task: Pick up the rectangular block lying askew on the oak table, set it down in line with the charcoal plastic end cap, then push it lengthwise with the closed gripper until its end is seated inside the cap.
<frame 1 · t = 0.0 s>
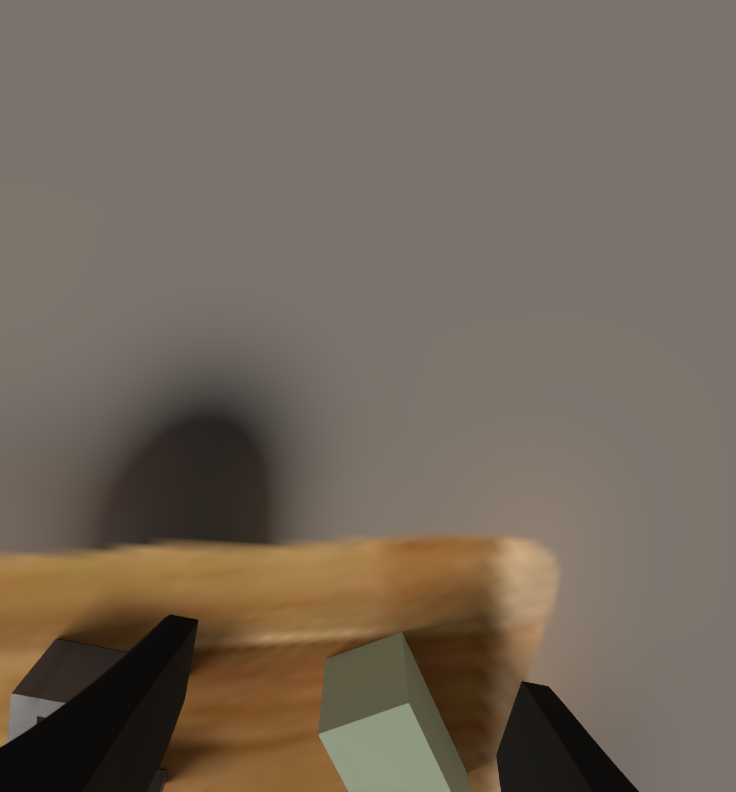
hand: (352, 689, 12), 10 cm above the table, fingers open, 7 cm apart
end cap: (118, 715, 24), on the table
rectangular block: (398, 714, 25), on the table
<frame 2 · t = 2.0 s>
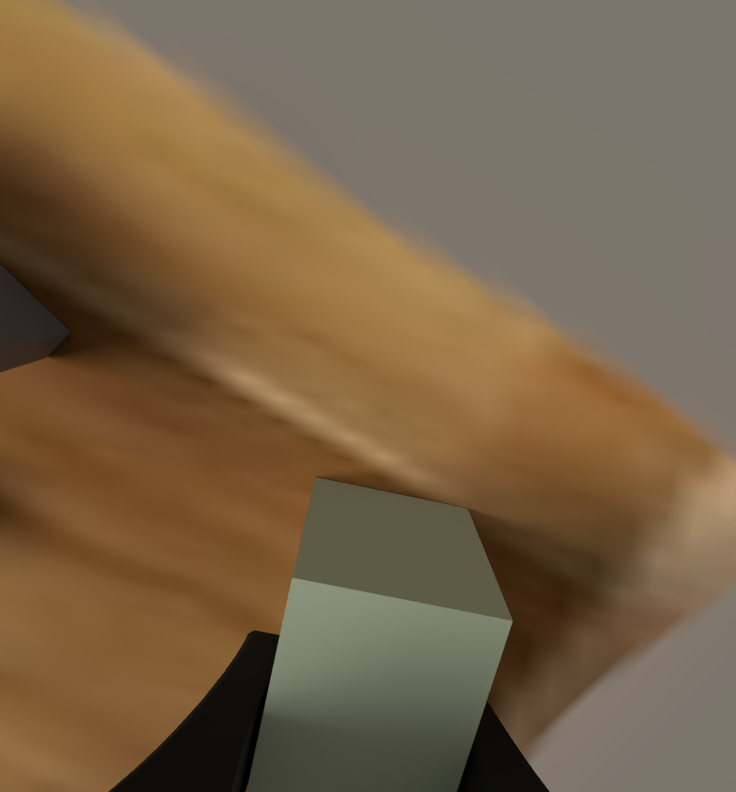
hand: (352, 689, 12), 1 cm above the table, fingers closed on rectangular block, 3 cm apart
rectangular block: (354, 643, 13), on the table, touching gripper
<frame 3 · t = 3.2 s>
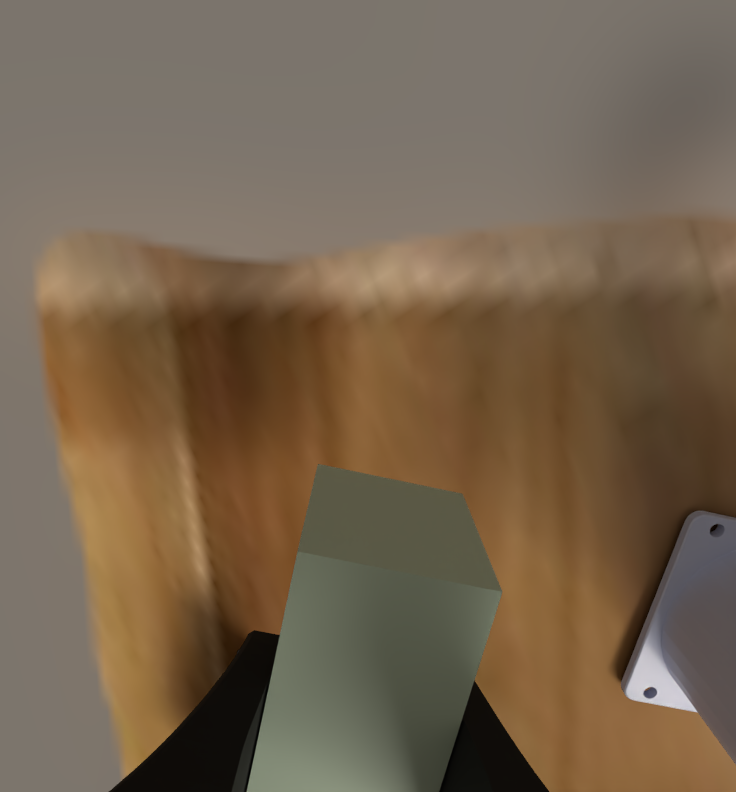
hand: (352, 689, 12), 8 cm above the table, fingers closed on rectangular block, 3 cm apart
rectangular block: (355, 623, 14), point 6 cm above the table, touching gripper
when the fingers open (2 cm above the table, at t = 4.7 s): rectangular block stays where it is, on the table.
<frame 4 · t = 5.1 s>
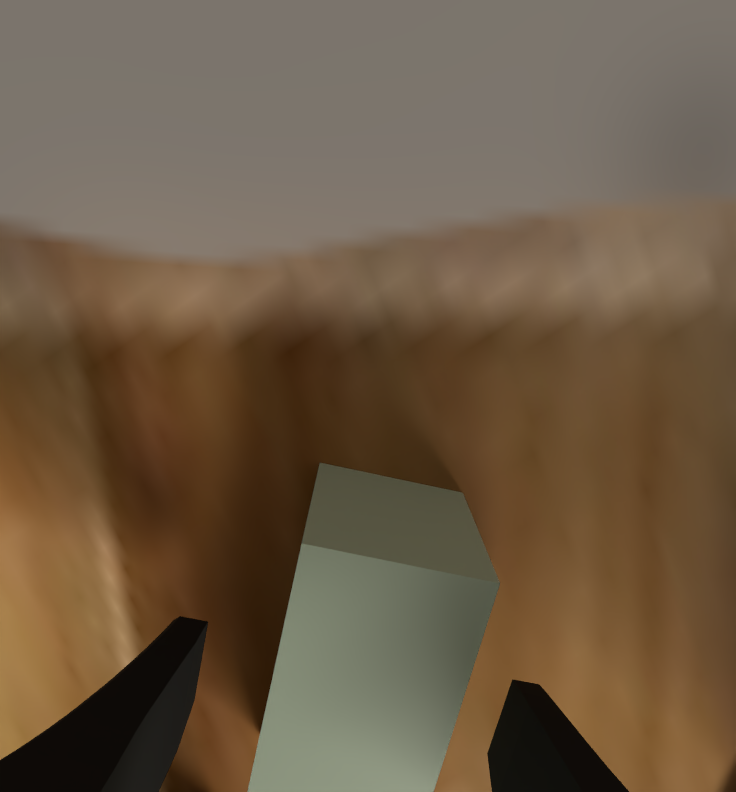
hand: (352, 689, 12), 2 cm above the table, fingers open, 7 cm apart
rectangular block: (355, 616, 14), on the table
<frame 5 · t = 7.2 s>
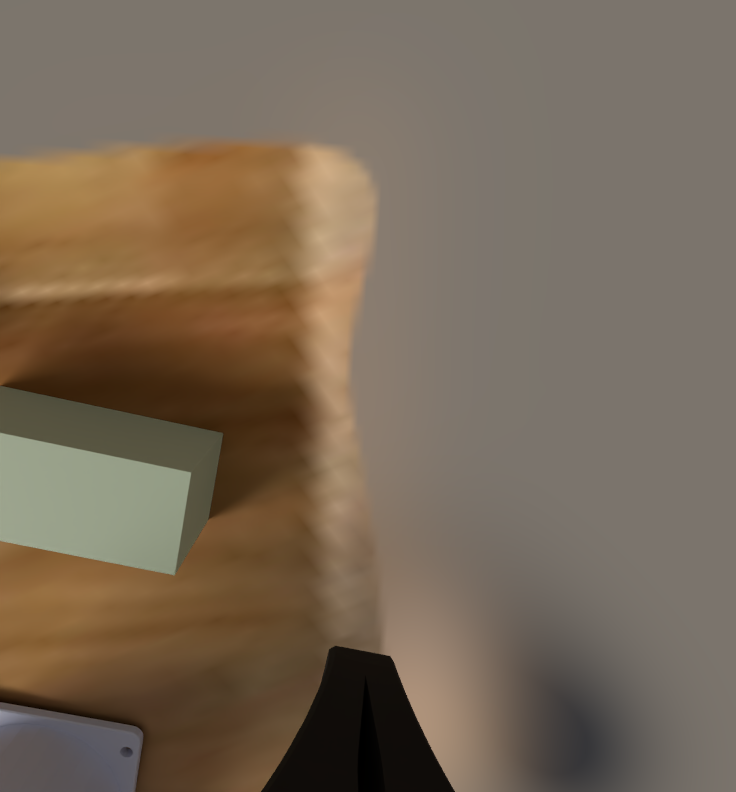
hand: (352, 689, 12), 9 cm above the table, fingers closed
rectangular block: (109, 453, 21), on the table
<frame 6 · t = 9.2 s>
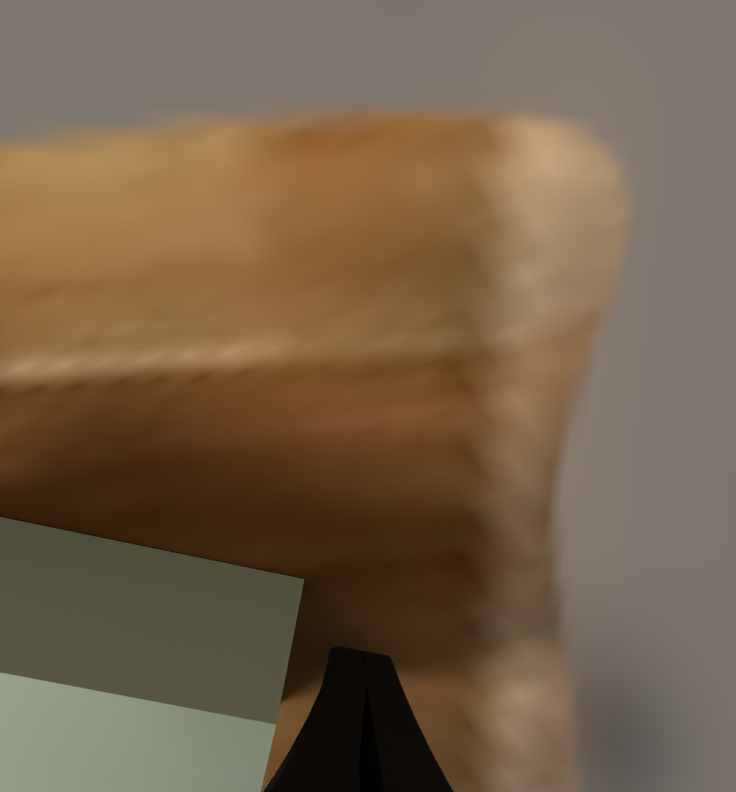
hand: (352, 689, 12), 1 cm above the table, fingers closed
rectangular block: (117, 610, 13), on the table, touching gripper
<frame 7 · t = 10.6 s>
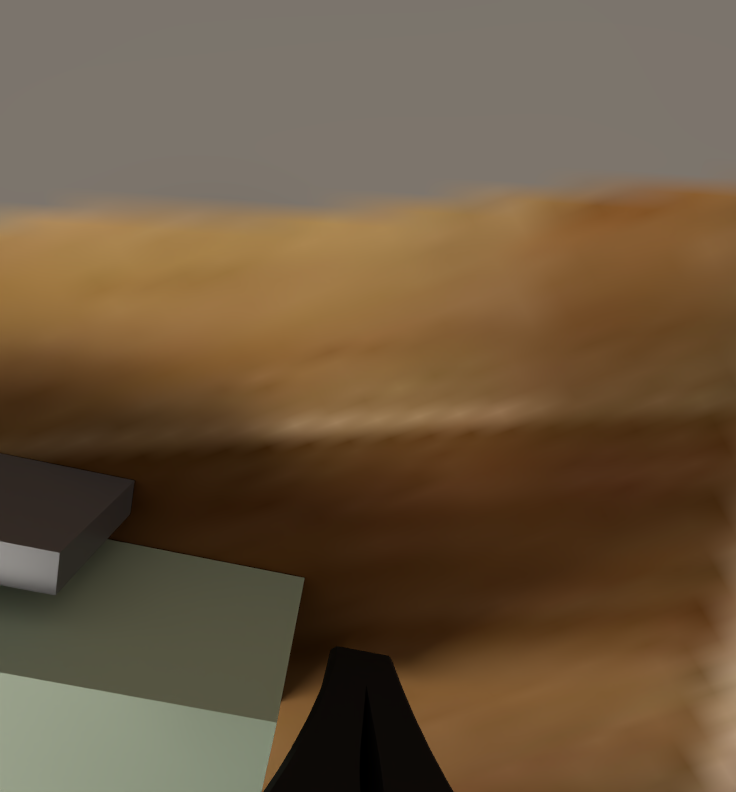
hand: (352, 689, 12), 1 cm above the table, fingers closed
end cap: (6, 591, 13), on the table
rectangular block: (117, 610, 13), on the table, touching gripper
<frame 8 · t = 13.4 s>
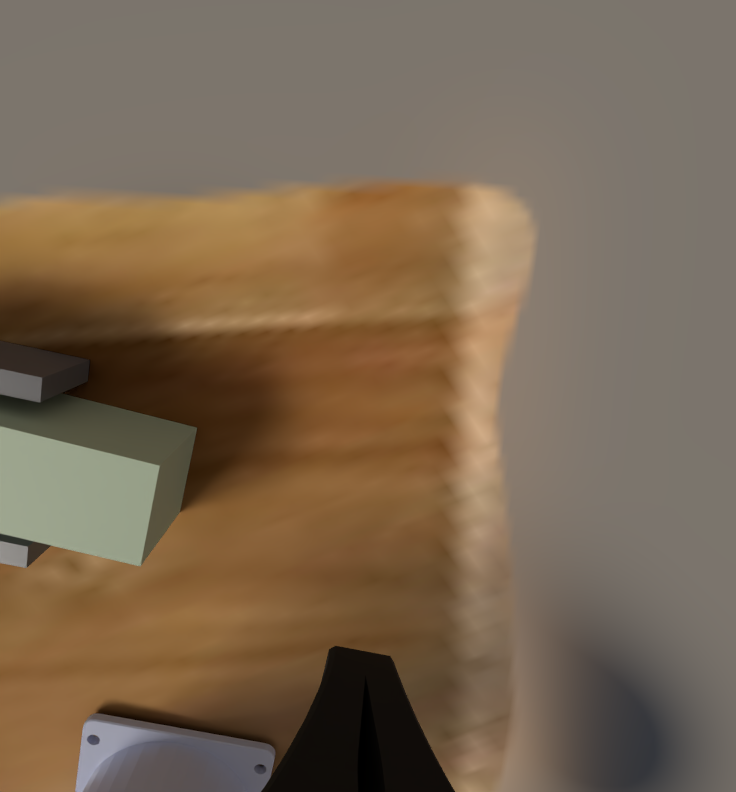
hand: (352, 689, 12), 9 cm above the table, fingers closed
end cap: (12, 431, 20), on the table
rectangular block: (84, 442, 21), on the table
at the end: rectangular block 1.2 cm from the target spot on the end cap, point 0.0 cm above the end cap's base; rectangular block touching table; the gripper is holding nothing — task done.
